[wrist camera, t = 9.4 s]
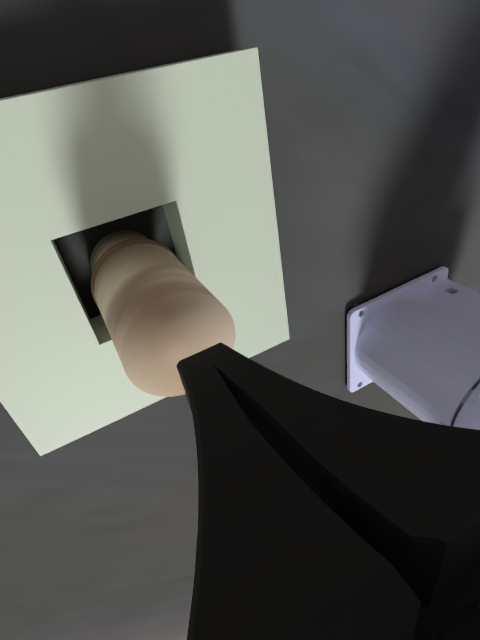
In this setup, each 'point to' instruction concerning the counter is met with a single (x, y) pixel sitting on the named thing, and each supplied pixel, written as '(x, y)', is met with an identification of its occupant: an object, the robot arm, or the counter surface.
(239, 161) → the sage board
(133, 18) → the counter surface
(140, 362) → the beech peg
